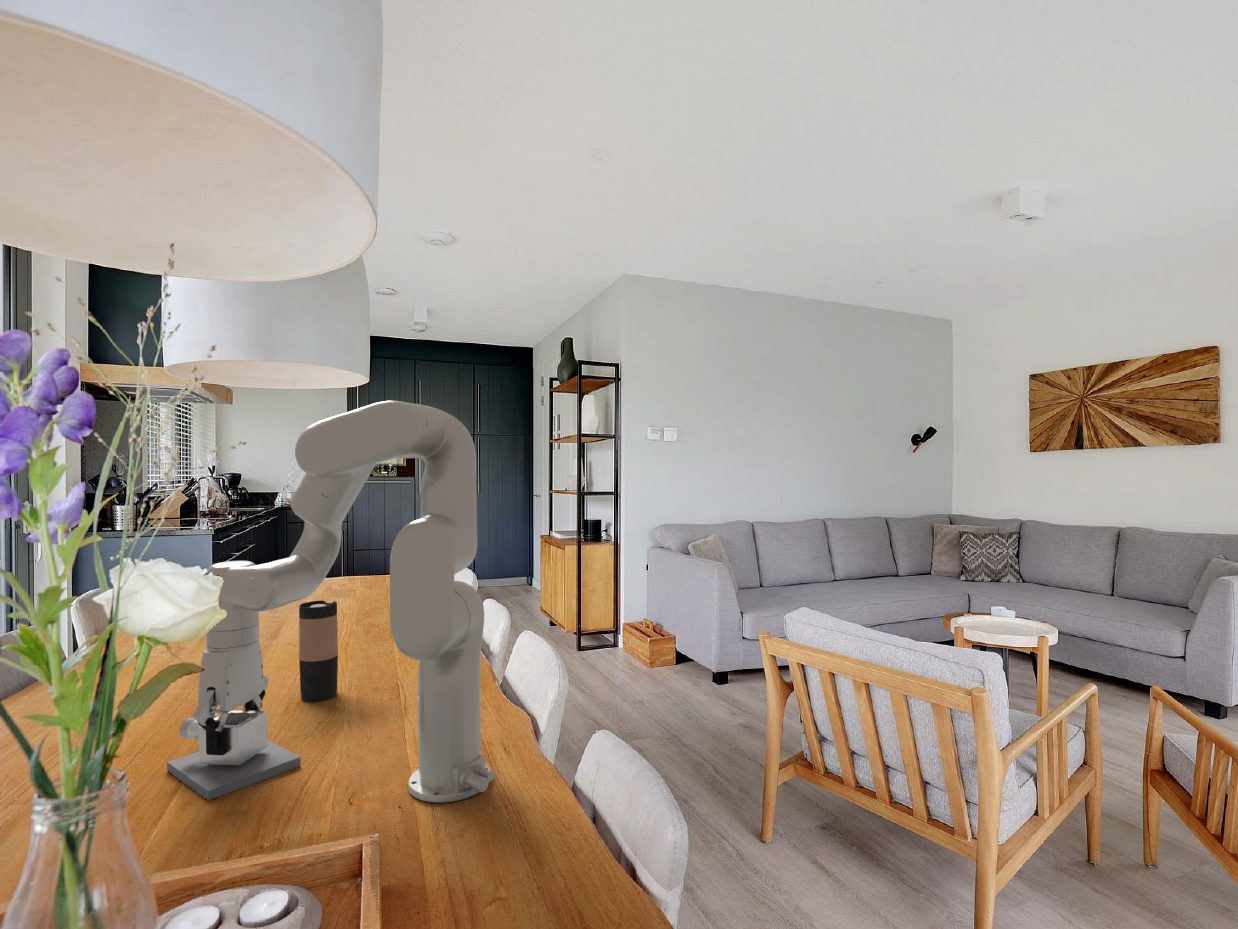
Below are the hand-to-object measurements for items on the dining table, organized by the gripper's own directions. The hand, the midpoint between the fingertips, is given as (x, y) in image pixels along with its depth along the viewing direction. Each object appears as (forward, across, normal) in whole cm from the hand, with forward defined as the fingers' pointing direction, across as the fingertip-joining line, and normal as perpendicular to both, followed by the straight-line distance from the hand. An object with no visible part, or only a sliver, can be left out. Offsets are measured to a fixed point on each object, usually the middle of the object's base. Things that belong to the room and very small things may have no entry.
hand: (234, 742), depth 109 cm
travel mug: (+4, -33, -5) cm, 34 cm away
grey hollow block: (+2, 0, -3) cm, 3 cm away
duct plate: (+4, 0, 0) cm, 4 cm away
